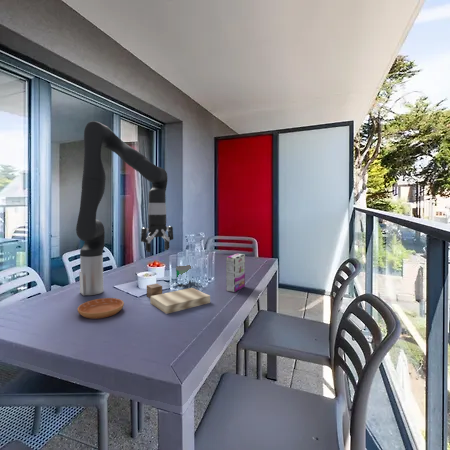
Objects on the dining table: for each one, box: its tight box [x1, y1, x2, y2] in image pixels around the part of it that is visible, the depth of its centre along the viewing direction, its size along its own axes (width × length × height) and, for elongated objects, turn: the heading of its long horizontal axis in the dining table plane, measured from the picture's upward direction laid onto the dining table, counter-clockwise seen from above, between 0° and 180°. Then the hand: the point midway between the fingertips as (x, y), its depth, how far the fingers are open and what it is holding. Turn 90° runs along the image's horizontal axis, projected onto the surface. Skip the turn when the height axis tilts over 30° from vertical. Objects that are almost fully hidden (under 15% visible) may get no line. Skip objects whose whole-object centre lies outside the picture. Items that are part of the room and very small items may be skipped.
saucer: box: [77, 297, 125, 320], centre depth 108 cm, size 16×16×3 cm
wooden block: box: [149, 287, 211, 315], centre depth 118 cm, size 20×14×3 cm
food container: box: [175, 265, 192, 278], centre depth 147 cm, size 12×6×10 cm, turn 168°
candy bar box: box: [225, 253, 246, 293], centre depth 139 cm, size 11×5×16 cm, turn 150°
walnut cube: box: [146, 283, 163, 299], centre depth 126 cm, size 5×5×5 cm
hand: (157, 250), depth 125 cm, fingers open, 8 cm apart
